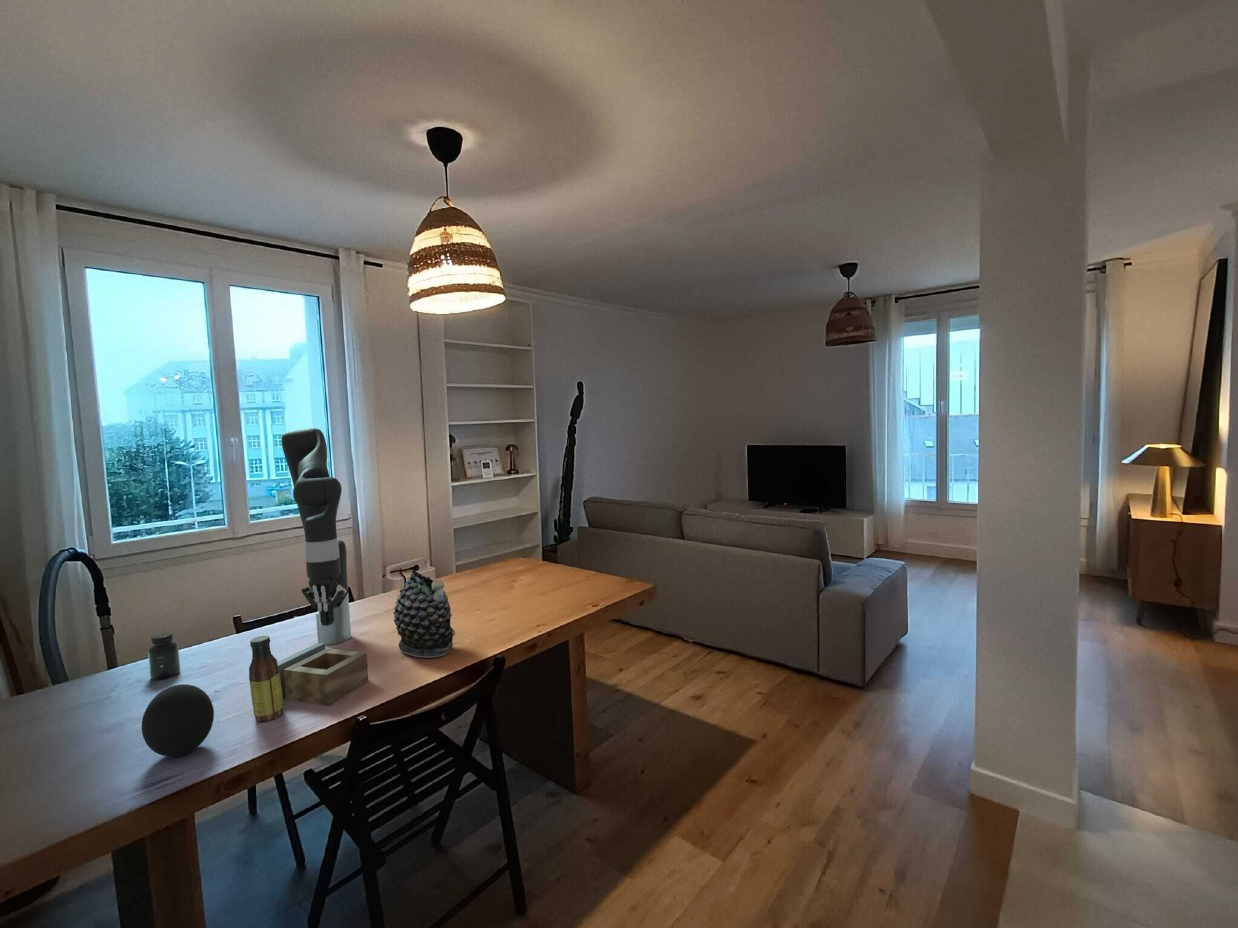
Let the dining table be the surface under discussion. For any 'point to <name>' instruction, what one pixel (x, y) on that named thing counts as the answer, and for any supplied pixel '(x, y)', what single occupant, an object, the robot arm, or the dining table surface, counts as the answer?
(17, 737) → the dining table surface
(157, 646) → the supplement bottle
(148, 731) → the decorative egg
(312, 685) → the open wooden box
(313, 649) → the backstop
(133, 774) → the dining table surface
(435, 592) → the scaly dragon egg
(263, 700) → the sauce bottle
